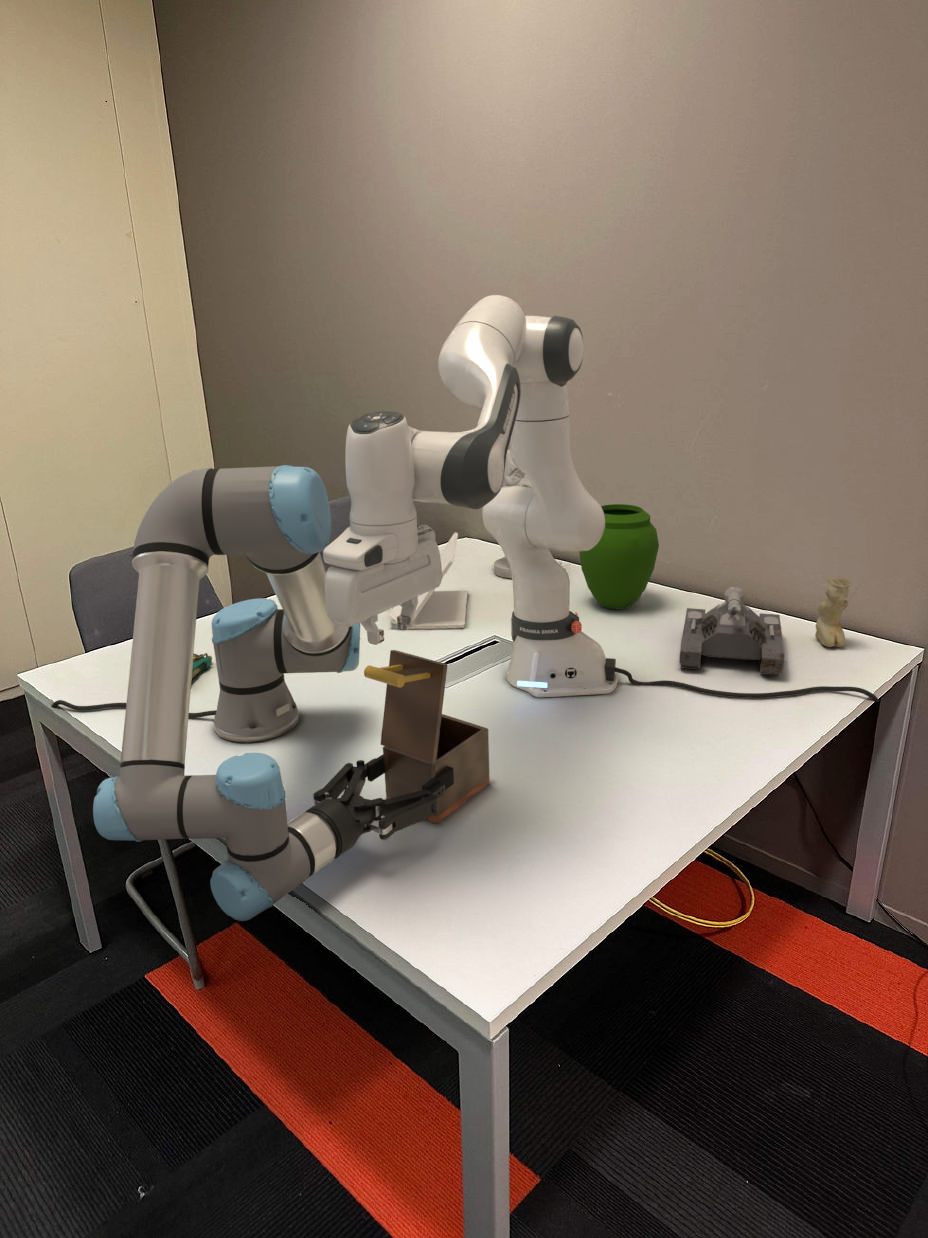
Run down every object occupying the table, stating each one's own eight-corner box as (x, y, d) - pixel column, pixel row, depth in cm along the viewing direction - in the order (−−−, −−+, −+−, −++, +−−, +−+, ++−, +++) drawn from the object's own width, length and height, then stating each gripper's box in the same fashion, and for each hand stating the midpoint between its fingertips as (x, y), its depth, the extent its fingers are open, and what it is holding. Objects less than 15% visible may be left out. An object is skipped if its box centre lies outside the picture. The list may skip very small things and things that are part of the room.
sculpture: (821, 649, 184) (830, 583, 179) (808, 637, 191) (816, 573, 185) (848, 649, 184) (858, 582, 179) (834, 636, 191) (843, 572, 185)
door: (394, 649, 127) (355, 655, 120) (447, 664, 122) (409, 670, 115) (384, 743, 130) (345, 754, 123) (436, 762, 124) (398, 774, 117)
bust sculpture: (503, 593, 225) (502, 460, 212) (483, 567, 247) (480, 445, 234) (562, 587, 228) (563, 456, 215) (536, 562, 250) (536, 441, 237)
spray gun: (177, 659, 191) (231, 671, 185) (120, 684, 176) (176, 698, 171) (176, 641, 190) (230, 653, 184) (118, 665, 175) (174, 678, 169)
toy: (685, 628, 198) (689, 566, 193) (776, 635, 192) (783, 571, 187) (678, 672, 175) (683, 603, 170) (781, 681, 170) (789, 610, 164)
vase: (599, 587, 227) (601, 497, 218) (668, 600, 216) (673, 505, 208) (562, 608, 212) (564, 513, 204) (634, 623, 202) (639, 523, 193)
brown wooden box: (440, 765, 143) (438, 712, 140) (489, 783, 138) (488, 728, 134) (386, 803, 133) (382, 747, 130) (437, 824, 127) (434, 766, 124)
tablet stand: (467, 593, 225) (465, 531, 219) (465, 628, 202) (462, 559, 196) (399, 594, 226) (395, 532, 220) (388, 629, 203) (384, 560, 197)
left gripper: (264, 832, 121) (370, 765, 138) (384, 890, 109) (484, 809, 125) (258, 786, 119) (367, 724, 135) (380, 840, 106) (483, 764, 123)
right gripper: (415, 518, 123) (420, 608, 128) (313, 554, 107) (323, 654, 112) (450, 524, 119) (454, 616, 124) (349, 561, 104) (358, 665, 109)
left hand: (423, 764), depth 130 cm, fingers closed on brown wooden box, 10 cm apart
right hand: (391, 635), depth 118 cm, fingers open, 5 cm apart
